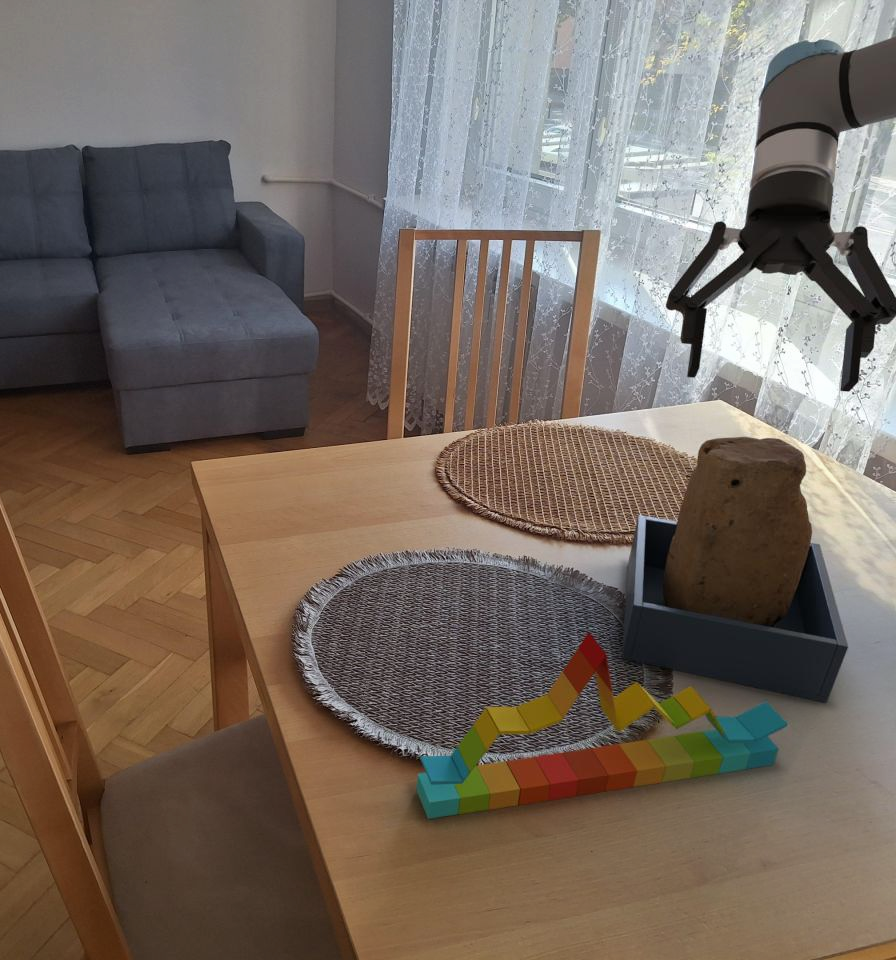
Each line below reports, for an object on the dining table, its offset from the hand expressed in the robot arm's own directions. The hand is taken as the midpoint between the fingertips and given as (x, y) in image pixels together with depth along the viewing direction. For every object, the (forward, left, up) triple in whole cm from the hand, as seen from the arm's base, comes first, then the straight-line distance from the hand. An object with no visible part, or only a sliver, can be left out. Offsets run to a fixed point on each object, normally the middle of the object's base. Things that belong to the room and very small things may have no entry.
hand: (768, 379), depth 85 cm
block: (0, +9, -23) cm, 25 cm away
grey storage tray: (0, +9, -24) cm, 25 cm away
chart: (+10, +35, -24) cm, 43 cm away
